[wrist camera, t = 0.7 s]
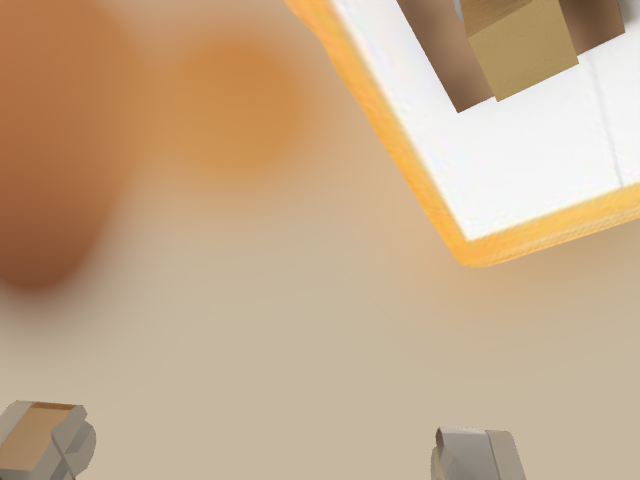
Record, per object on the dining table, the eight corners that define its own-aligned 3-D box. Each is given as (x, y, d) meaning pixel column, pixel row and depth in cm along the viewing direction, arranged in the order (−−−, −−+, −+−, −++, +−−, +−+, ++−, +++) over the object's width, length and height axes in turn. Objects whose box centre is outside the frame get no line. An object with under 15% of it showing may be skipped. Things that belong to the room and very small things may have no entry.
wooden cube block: (533, -44, 33) (554, -11, 28) (556, 23, 36) (579, 63, 31) (459, 1, 36) (467, 38, 31) (486, 59, 39) (497, 102, 34)
